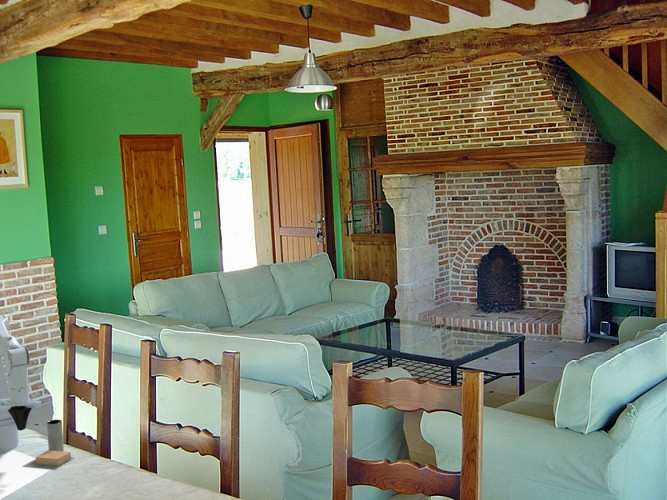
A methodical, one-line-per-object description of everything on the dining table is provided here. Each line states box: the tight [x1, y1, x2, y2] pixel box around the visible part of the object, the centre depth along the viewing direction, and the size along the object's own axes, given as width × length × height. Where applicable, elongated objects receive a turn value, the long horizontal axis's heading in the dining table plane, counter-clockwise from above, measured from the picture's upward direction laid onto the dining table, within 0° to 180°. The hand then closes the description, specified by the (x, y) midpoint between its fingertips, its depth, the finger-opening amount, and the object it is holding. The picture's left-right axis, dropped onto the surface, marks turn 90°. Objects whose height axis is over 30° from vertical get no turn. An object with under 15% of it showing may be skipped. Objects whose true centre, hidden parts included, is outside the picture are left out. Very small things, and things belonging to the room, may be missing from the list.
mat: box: [21, 456, 76, 471], centre depth 230 cm, size 12×10×1 cm
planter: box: [46, 419, 65, 452], centre depth 239 cm, size 4×4×10 cm
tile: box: [35, 449, 72, 466], centre depth 230 cm, size 2×6×8 cm
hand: (21, 429), depth 231 cm, fingers closed
